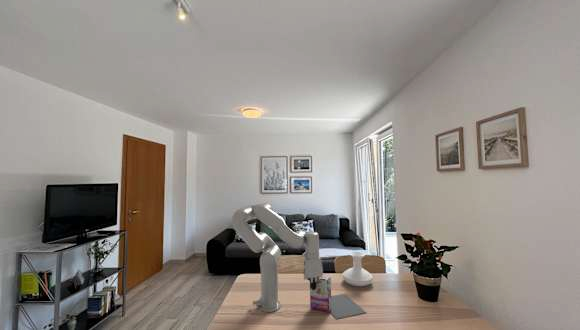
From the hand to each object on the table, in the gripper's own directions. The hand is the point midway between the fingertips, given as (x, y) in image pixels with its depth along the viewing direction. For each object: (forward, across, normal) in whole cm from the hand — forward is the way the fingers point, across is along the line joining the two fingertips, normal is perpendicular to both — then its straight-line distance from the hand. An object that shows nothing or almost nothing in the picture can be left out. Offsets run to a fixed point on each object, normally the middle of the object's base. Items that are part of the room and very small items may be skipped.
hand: (313, 288), depth 134 cm
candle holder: (+12, +43, +24) cm, 50 cm away
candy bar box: (+12, +4, 0) cm, 12 cm away
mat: (+12, +17, 0) cm, 21 cm away
